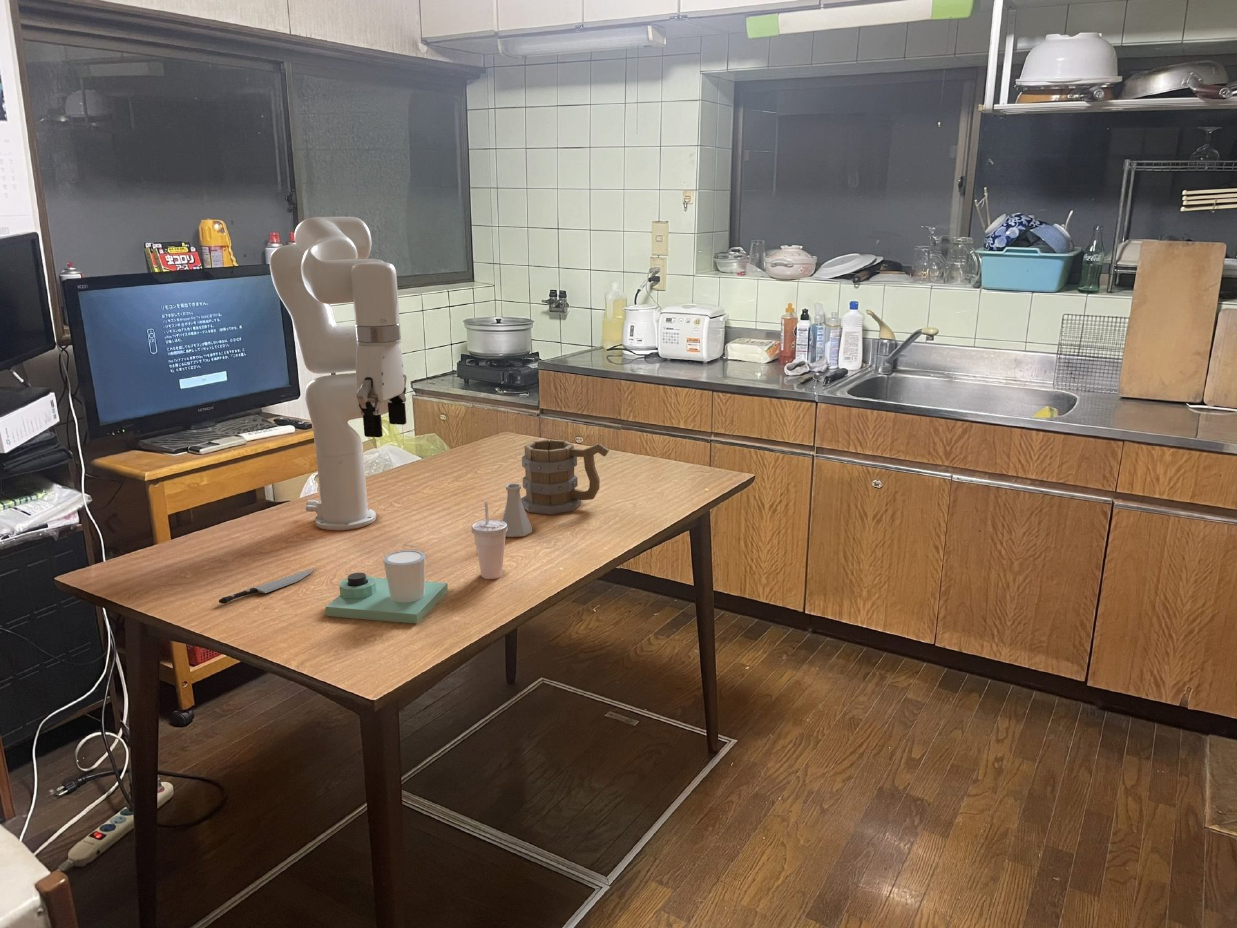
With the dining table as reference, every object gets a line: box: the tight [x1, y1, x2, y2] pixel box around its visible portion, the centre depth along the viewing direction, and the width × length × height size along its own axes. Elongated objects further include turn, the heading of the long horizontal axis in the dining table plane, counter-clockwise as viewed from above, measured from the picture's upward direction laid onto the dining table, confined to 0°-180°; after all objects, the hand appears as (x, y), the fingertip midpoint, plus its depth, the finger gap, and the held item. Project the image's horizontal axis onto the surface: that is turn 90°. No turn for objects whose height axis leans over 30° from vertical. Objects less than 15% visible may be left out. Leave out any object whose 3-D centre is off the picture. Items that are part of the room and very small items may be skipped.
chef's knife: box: [218, 568, 314, 604], centre depth 161 cm, size 19×1×3 cm
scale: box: [325, 575, 449, 625], centre depth 154 cm, size 16×13×4 cm
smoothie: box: [471, 500, 508, 580], centre depth 164 cm, size 6×6×14 cm
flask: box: [500, 483, 533, 538], centre depth 187 cm, size 7×7×10 cm
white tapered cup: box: [382, 549, 427, 603], centre depth 152 cm, size 7×7×7 cm
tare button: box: [347, 572, 367, 587], centre depth 154 cm, size 3×3×2 cm
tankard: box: [521, 439, 610, 516], centre depth 202 cm, size 20×13×15 cm, turn 71°
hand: (386, 430), depth 164 cm, fingers open, 9 cm apart
